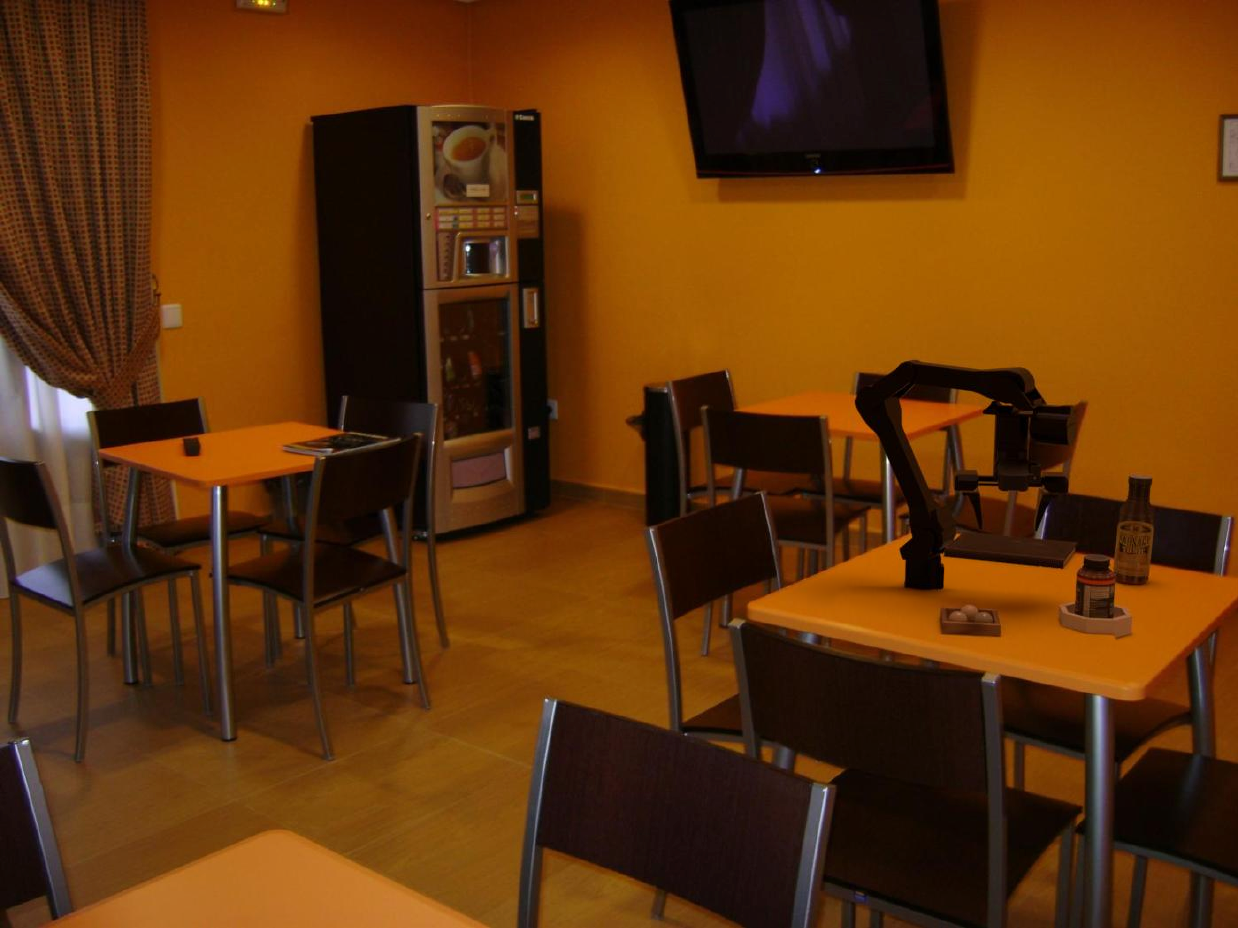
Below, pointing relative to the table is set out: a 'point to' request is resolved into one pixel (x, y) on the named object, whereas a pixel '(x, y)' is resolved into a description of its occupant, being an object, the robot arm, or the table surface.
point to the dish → (1097, 621)
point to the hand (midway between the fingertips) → (1007, 530)
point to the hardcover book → (1011, 549)
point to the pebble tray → (970, 624)
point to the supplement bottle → (1095, 588)
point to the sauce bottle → (1135, 533)
